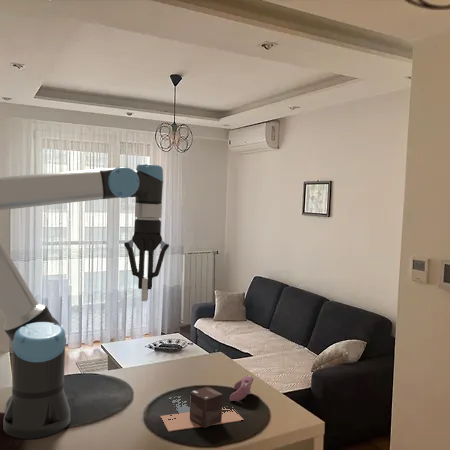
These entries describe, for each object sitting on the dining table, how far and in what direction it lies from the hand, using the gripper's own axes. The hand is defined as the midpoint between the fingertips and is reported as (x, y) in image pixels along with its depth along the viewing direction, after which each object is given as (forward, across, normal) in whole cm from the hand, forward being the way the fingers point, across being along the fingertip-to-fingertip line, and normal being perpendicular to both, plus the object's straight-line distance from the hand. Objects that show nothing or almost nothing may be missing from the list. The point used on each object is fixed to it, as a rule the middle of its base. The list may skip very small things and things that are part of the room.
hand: (144, 300), depth 135 cm
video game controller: (+27, -29, +3) cm, 40 cm away
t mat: (+26, -16, +12) cm, 33 cm away
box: (+26, -19, +18) cm, 37 cm away
